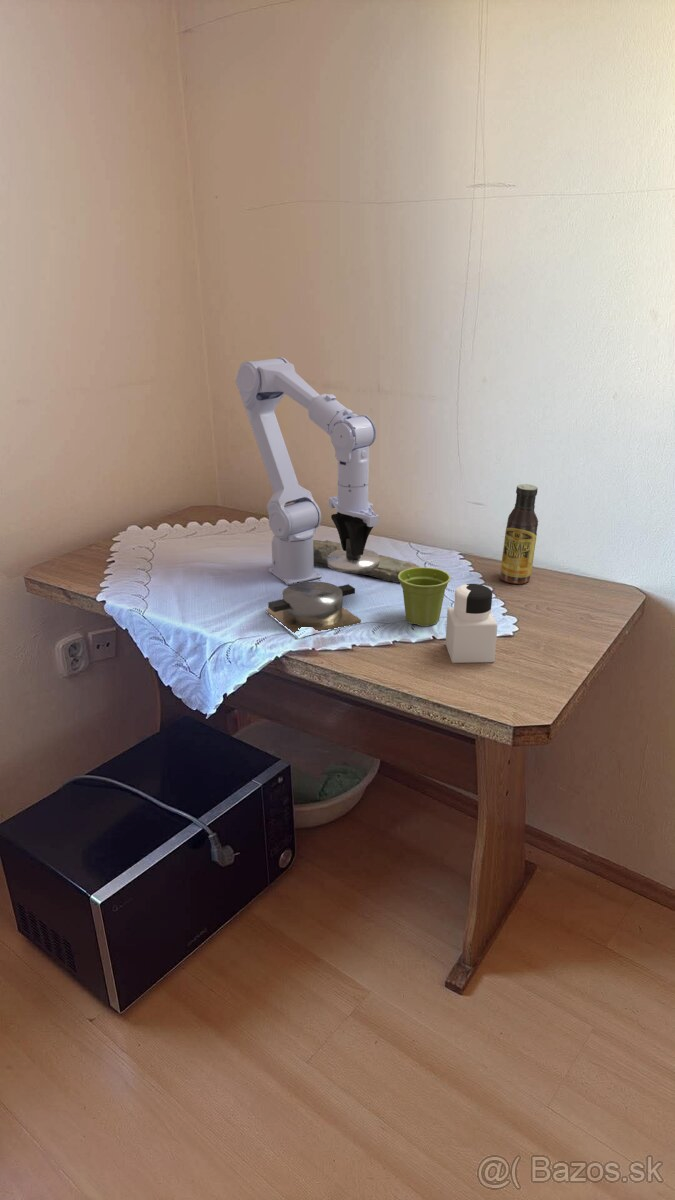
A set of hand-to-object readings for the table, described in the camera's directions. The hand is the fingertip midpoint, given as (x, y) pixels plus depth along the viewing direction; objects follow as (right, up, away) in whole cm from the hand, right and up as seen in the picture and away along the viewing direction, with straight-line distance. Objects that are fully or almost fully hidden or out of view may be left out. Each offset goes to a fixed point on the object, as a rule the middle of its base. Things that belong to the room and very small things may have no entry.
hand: (352, 552), depth 154 cm
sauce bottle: (+34, -5, +12) cm, 36 cm away
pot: (-8, -12, -5) cm, 15 cm away
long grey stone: (0, -2, +20) cm, 20 cm away
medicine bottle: (+19, -18, -18) cm, 32 cm away
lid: (0, -2, +1) cm, 2 cm away
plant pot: (+13, -13, -6) cm, 19 cm away
